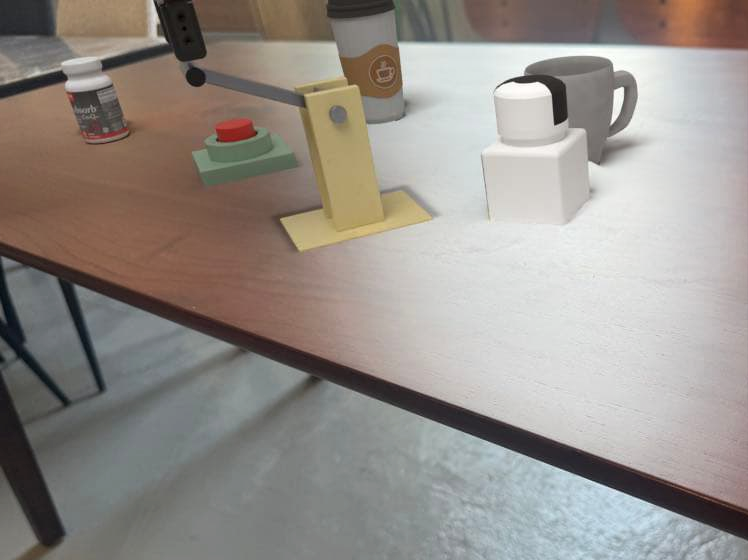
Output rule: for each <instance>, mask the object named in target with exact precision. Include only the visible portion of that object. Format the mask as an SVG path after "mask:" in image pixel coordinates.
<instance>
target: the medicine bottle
mask: <svg viewBox="0 0 748 560" xmlns="http://www.w3.org/2000/svg"><path fill="white" fill-rule="evenodd" d="M492 93H493V102H494V103H493V104H494V112H495V120H496V129H497V134H498V136H500V137H498V138H497V139H496V140H494V141H492V142H491V143H490V144H489V145H488V146H486V147H485V148H484V149H482V151H481V152H480V159H481V165H482V166H481V167H482V173H483V180H484V181H483V182H484V190H485V198H486V207H487V213H488V219H489V221H490V222H499V223H514V224H528V225H529V224H532V225H545V226H546V225H547V226H548V225H549V226H560V227H561V226H565V225H567V224H568V222H569V221H570V220H571V219H572V218H573V217H574V216H575V215H576V214H577V213H578V211H579V210H580V209H581V208H582V207H583V206H584V205H585V203H586V202H587V201H588V200H589V199H590V198H591V190H590V189H591V188H590V172H589V160H588V153H587V136H586V130H585V129H583V128H568V127H569V123H568V109H567V95H566V85H565V84H564V82H563V81H562V80H560V79H558V78H555V77H553V76H549V75H526V76H524V75H520V76H516V77H512V78H509V79H506V80H504V81H503V82H502V83H499V84H497V86H496V87H495V88H494V90H493V92H492Z"/></svg>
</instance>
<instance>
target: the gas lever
mask: <svg viewBox="0 0 748 560" xmlns="http://www.w3.org/2000/svg"><path fill="white" fill-rule="evenodd" d="M179 70H180V71H181V73H182V75H183V77H184V79H185V80H186V82H187V84H188V85H190V86H192V87H194V88H200V87H202V86H204V85H205V84H208V85H212V86H216V87H220V88H224V89H228V90H232V91H235V92H240V93H244V94H247V95H250V96H255V97H259V98H263V99H267V100H271V101H274V102H278V103H282V104H287V105H291V106H293V107H297V108H299V107H301V108H305V109H307V107H306V103H305V99H304V94H303V93H299V92H295V90H291V89H287V88H283V87H280V86H276V85H272V84H268V83H266V82H265V83H264V82H261V81H258V80H253V79H250V78H246V77H241V76H238V75H235V74H231V73H226V72H223V71H220V70H216V69H212V68H208V67H204V66H202V65H200V64H199V63H198V61H197V60H193V61H187V62H181V61H179ZM319 91H324V89H320V88H317V87H314V91H313V93H314V92H319Z"/></svg>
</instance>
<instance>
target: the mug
mask: <svg viewBox="0 0 748 560" xmlns="http://www.w3.org/2000/svg"><path fill="white" fill-rule="evenodd" d="M614 70H615V69H614V64H613V61H611V60H610V58H608V57H604V56H598V55H597V56H596V55H569V56H559V57H552V58H547V59H542V60H539V61H536V62H533V63H531V64H529V65H528V66H526V67H525V69H524V71H523V76H526V75H549V76H553V77H555V78H558V79H560V80H562V81H563V82H564V84H565V85H566V95H567V109H568V123H569V127H568V128H583V129H585V130H586V136H587V153H588V162H591V163H592V164H594V165H597V164H598V163H599V162H601V159H602V154H603V151H604V148H605V145H606V143H607V140H608V139H609V138H611V137H613V136H615V135H617V134H618V133H620V132H622V131H623V130H625V129H626V128H627V127H628V126H629V124H630V123H631V121H632V119H633V117H634V113H635V110H636V106H637V103H638V98H639V97H638V96H639V94H638V84H637V80H636V78H635V76H634V74H632V73H630V72H629V71H627V70H623V69H619V70H615V71H614ZM621 88H623V101H622V105H621V108H620V111H619V114H618V116H617V117H616V119H615V120H614V121H613V122H612V119H613V111H614V101H615V100H614V99H615V91H616V90H618V89H621ZM599 164H600V163H599ZM599 164H598V165H599Z"/></svg>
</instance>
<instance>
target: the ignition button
mask: <svg viewBox="0 0 748 560" xmlns="http://www.w3.org/2000/svg"><path fill="white" fill-rule="evenodd" d="M254 127H255V125H254V123H253V120H252V119H251V118H244V117H243V118H234V119H227V120H224V121H221V122H219V123H217V124H216V125H215V126H214V129H215V134H217V136H218V140H219V142H223V143H226V142H236V141H241V140H246V139H249V138H252V137H254V136H256V133H255V130H254Z"/></svg>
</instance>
